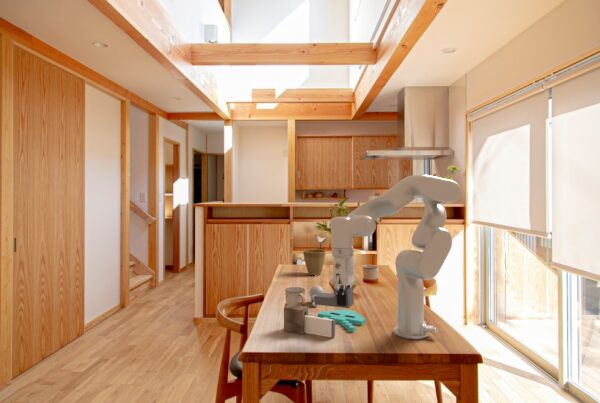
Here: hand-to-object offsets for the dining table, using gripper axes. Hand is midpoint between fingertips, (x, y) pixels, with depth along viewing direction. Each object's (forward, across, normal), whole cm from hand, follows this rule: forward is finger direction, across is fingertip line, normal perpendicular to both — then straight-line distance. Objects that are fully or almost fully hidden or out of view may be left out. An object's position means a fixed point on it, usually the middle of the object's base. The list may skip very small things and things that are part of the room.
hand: (344, 302), depth 134 cm
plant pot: (+16, +101, +60) cm, 119 cm away
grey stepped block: (+1, 0, +4) cm, 4 cm away
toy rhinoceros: (+15, +39, +30) cm, 51 cm away
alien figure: (+16, +22, +11) cm, 29 cm away
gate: (+14, +3, +12) cm, 18 cm away
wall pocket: (+14, +3, +21) cm, 26 cm away
